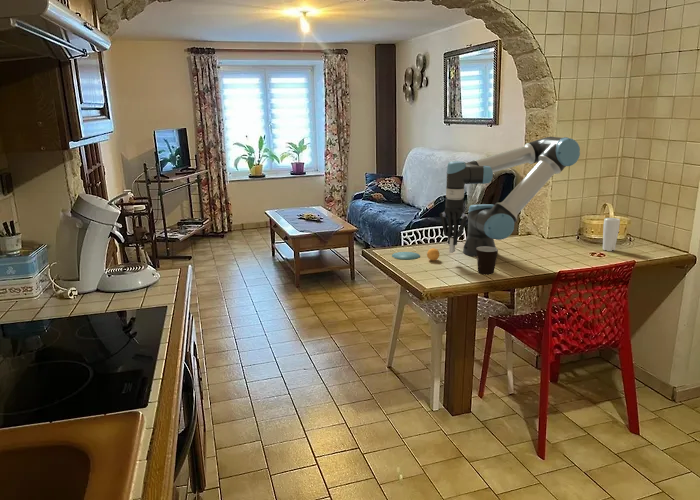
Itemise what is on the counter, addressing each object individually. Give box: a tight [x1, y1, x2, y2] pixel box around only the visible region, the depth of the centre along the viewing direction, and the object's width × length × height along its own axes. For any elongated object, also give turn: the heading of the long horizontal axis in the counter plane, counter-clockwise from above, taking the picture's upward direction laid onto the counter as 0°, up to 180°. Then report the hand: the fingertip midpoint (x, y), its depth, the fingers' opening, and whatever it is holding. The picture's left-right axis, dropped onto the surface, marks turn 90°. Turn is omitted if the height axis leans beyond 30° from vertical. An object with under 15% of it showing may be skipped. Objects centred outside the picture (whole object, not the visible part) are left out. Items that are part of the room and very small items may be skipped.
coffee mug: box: [476, 246, 499, 276], centre depth 218 cm, size 12×9×10 cm
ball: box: [426, 247, 440, 262], centre depth 236 cm, size 6×6×6 cm
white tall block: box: [602, 217, 621, 252], centre depth 246 cm, size 7×7×15 cm
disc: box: [391, 251, 421, 261], centre depth 244 cm, size 13×13×1 cm
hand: (452, 251), depth 229 cm, fingers closed
